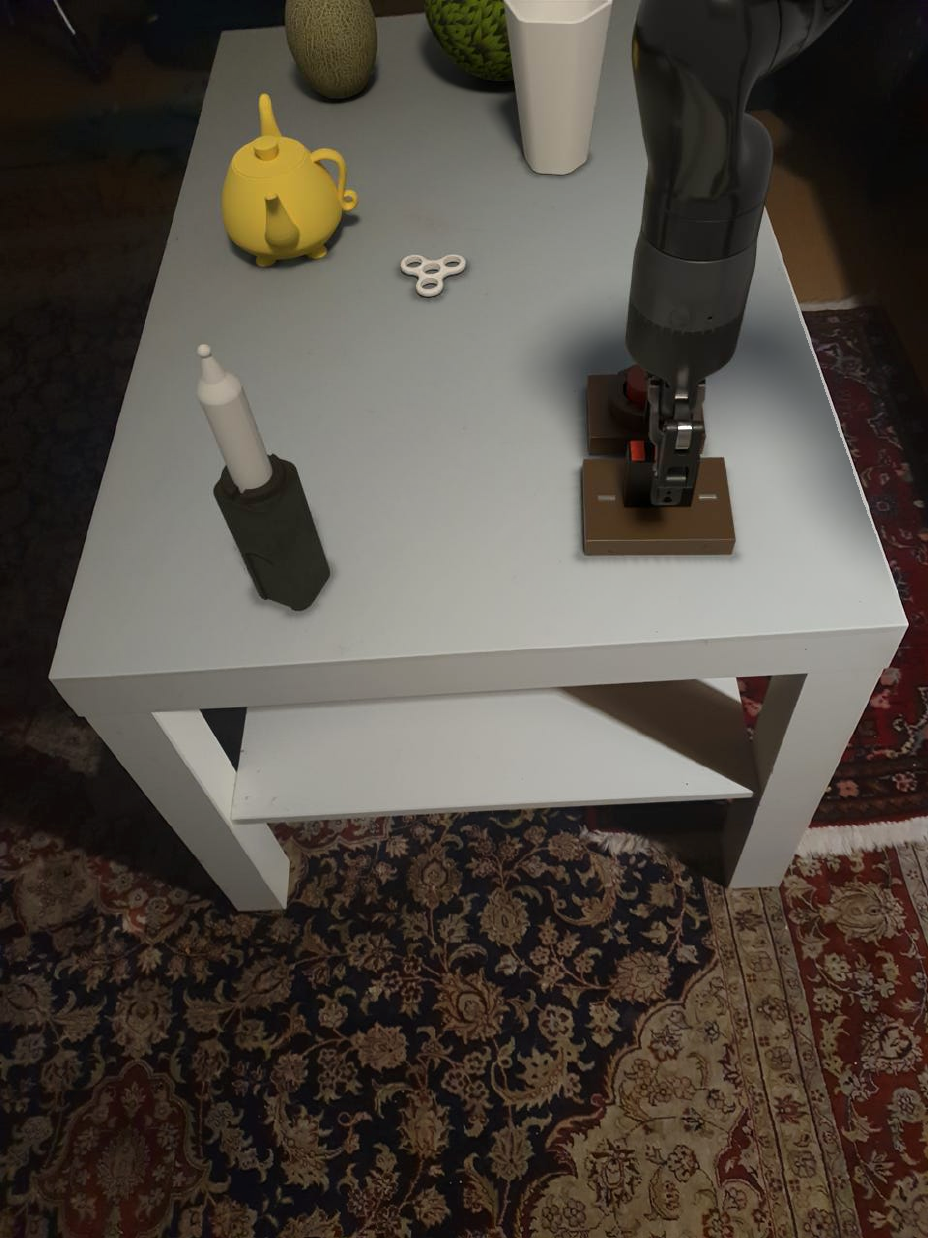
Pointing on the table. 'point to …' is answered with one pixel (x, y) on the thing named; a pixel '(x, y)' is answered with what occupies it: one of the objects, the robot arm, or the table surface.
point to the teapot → (282, 195)
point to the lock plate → (656, 515)
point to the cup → (557, 76)
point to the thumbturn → (646, 477)
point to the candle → (261, 496)
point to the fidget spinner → (432, 278)
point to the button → (636, 386)
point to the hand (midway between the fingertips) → (660, 459)
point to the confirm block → (616, 415)
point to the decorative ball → (473, 35)
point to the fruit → (332, 43)
